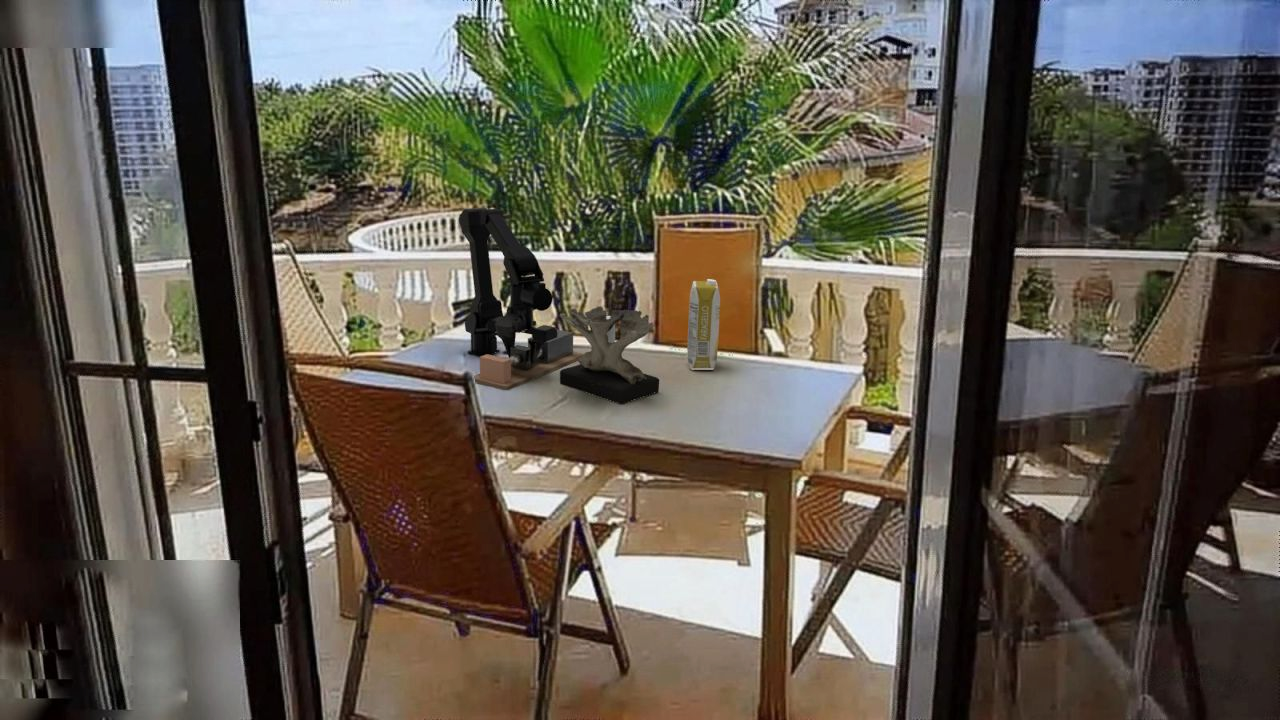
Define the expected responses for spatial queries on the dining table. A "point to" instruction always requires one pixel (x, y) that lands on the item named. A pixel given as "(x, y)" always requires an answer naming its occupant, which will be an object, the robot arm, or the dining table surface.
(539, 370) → the walnut board
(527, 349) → the steel tube
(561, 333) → the sleeve
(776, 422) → the dining table surface
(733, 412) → the dining table surface
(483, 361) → the reddish brown block
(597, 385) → the coral
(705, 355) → the juice carton
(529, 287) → the robot arm
